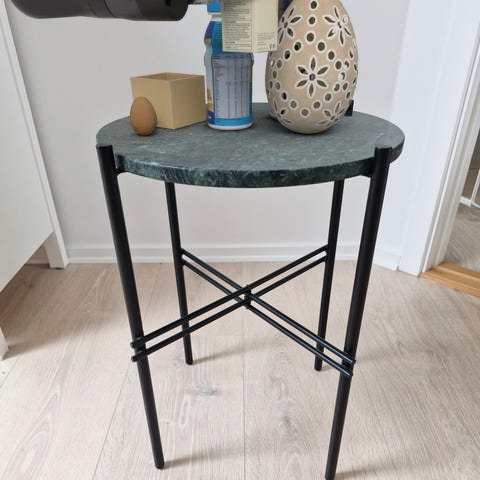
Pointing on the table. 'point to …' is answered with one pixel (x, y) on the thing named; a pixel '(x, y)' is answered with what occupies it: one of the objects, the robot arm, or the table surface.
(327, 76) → the ornament
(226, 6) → the cosmetic box
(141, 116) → the egg
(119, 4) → the robot arm
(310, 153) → the table surface
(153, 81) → the open box
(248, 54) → the beverage bottle
